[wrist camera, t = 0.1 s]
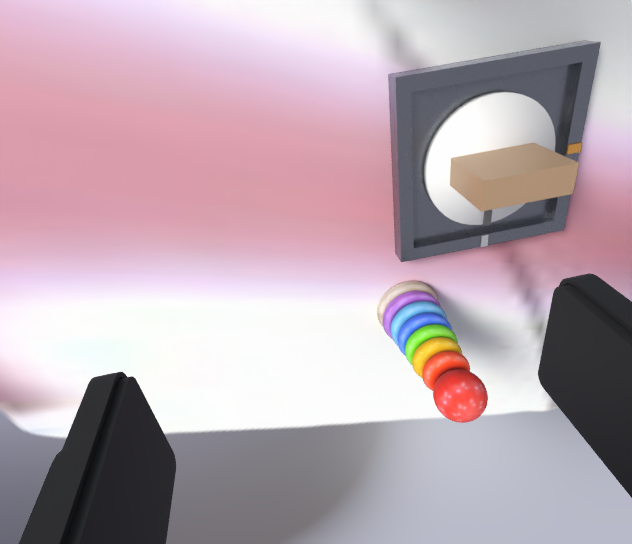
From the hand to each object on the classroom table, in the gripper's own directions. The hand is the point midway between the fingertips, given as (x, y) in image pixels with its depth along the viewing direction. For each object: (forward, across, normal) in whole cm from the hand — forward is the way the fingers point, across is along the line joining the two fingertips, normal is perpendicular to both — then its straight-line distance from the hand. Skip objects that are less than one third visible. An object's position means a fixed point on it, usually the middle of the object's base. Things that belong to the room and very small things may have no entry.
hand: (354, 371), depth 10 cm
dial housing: (+37, -22, +10) cm, 44 cm away
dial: (+35, -22, +10) cm, 43 cm away
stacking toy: (+37, -13, +28) cm, 48 cm away
